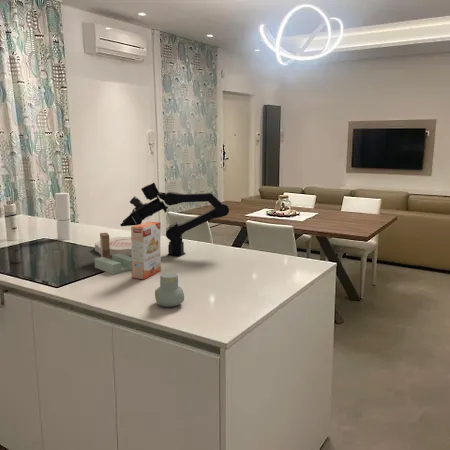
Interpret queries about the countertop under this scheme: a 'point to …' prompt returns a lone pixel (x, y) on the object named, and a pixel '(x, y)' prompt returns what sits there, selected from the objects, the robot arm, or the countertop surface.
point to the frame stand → (114, 263)
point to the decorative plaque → (117, 246)
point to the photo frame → (105, 245)
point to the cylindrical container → (63, 216)
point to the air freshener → (169, 291)
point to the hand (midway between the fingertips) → (121, 223)
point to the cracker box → (145, 249)
